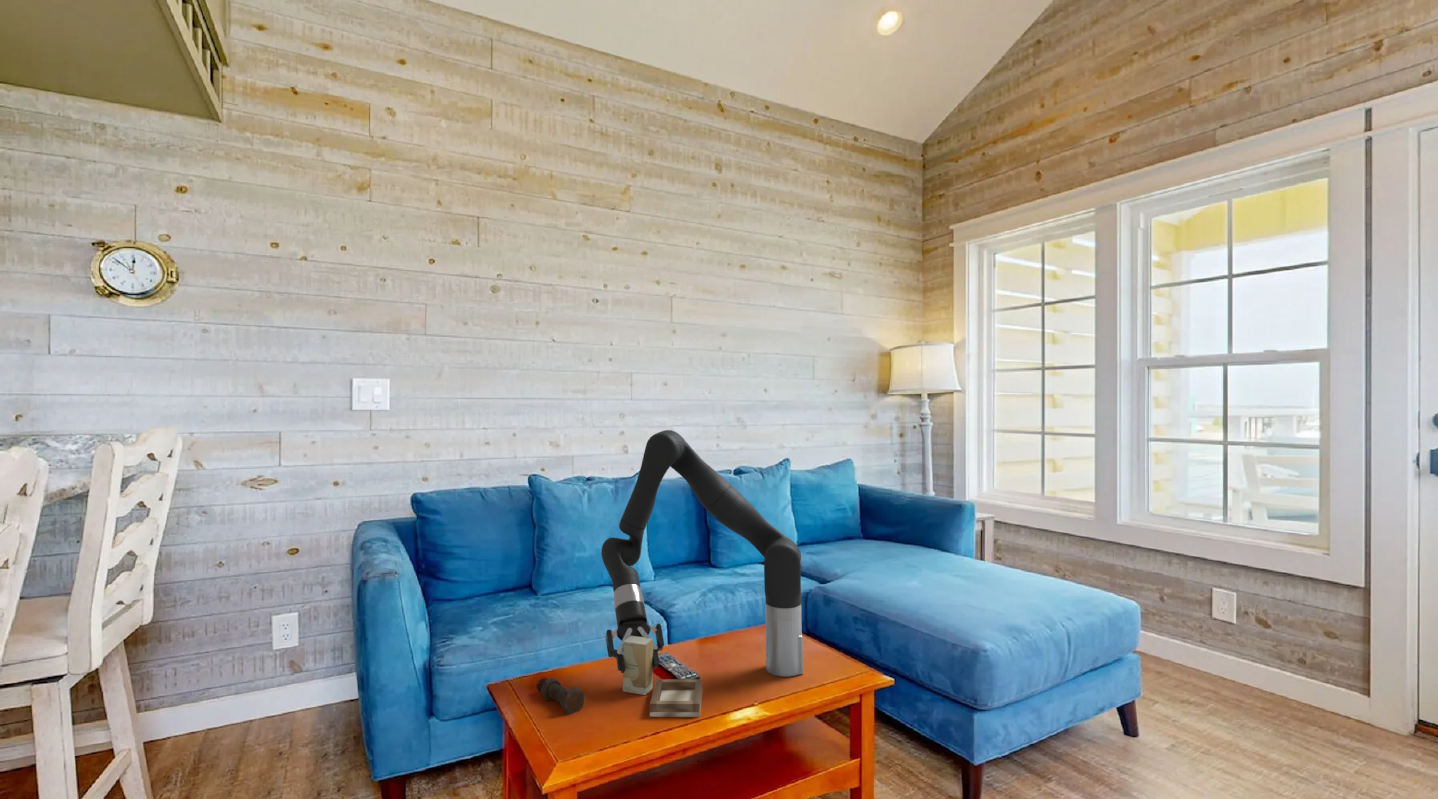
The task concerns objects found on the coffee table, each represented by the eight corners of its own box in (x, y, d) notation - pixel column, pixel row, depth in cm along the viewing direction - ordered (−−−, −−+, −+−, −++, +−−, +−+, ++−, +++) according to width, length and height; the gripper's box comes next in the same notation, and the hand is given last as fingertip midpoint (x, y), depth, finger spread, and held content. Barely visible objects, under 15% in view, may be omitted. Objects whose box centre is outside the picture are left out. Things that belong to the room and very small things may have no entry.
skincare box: (622, 692, 158) (621, 641, 158) (630, 684, 162) (629, 634, 162) (646, 695, 156) (646, 644, 156) (654, 688, 160) (653, 637, 160)
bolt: (544, 699, 159) (578, 717, 149) (527, 694, 156) (560, 712, 146) (555, 674, 162) (588, 691, 151) (538, 669, 159) (571, 685, 148)
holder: (702, 691, 158) (702, 679, 158) (699, 716, 145) (699, 703, 145) (656, 691, 159) (656, 679, 159) (649, 716, 146) (649, 703, 146)
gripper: (603, 602, 164) (611, 666, 153) (659, 596, 169) (671, 658, 158) (600, 617, 169) (607, 680, 158) (654, 611, 174) (666, 672, 163)
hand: (639, 669), depth 158 cm, fingers closed on skincare box, 7 cm apart
